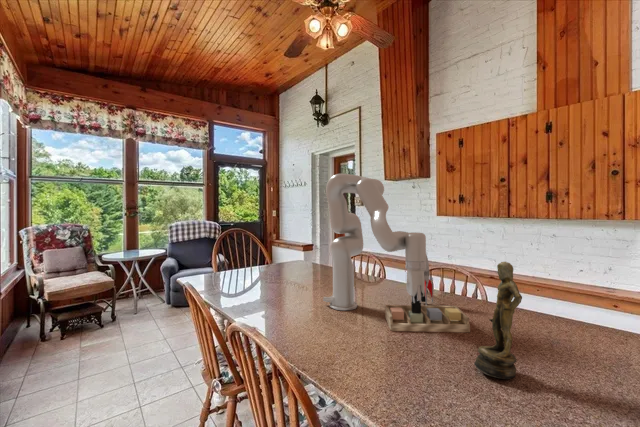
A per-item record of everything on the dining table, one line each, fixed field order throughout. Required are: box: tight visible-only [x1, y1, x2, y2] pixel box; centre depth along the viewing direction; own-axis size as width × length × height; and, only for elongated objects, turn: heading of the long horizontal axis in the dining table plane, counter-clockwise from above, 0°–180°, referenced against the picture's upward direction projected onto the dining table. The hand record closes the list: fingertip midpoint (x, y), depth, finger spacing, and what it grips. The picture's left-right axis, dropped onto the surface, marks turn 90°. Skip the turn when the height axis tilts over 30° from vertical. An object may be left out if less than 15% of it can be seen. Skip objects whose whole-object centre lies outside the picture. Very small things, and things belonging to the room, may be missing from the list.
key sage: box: [408, 311, 423, 323], centre depth 118 cm, size 4×4×3 cm
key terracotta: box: [390, 308, 404, 319], centre depth 119 cm, size 4×4×3 cm
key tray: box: [384, 304, 471, 333], centre depth 118 cm, size 28×14×5 cm, turn 86°
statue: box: [474, 261, 523, 380], centre depth 82 cm, size 11×11×30 cm
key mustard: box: [445, 308, 461, 320], centre depth 117 cm, size 4×4×3 cm
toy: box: [421, 254, 434, 306], centre depth 141 cm, size 10×9×30 cm
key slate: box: [427, 308, 442, 320], centre depth 118 cm, size 4×4×3 cm
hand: (416, 312), depth 118 cm, fingers closed
